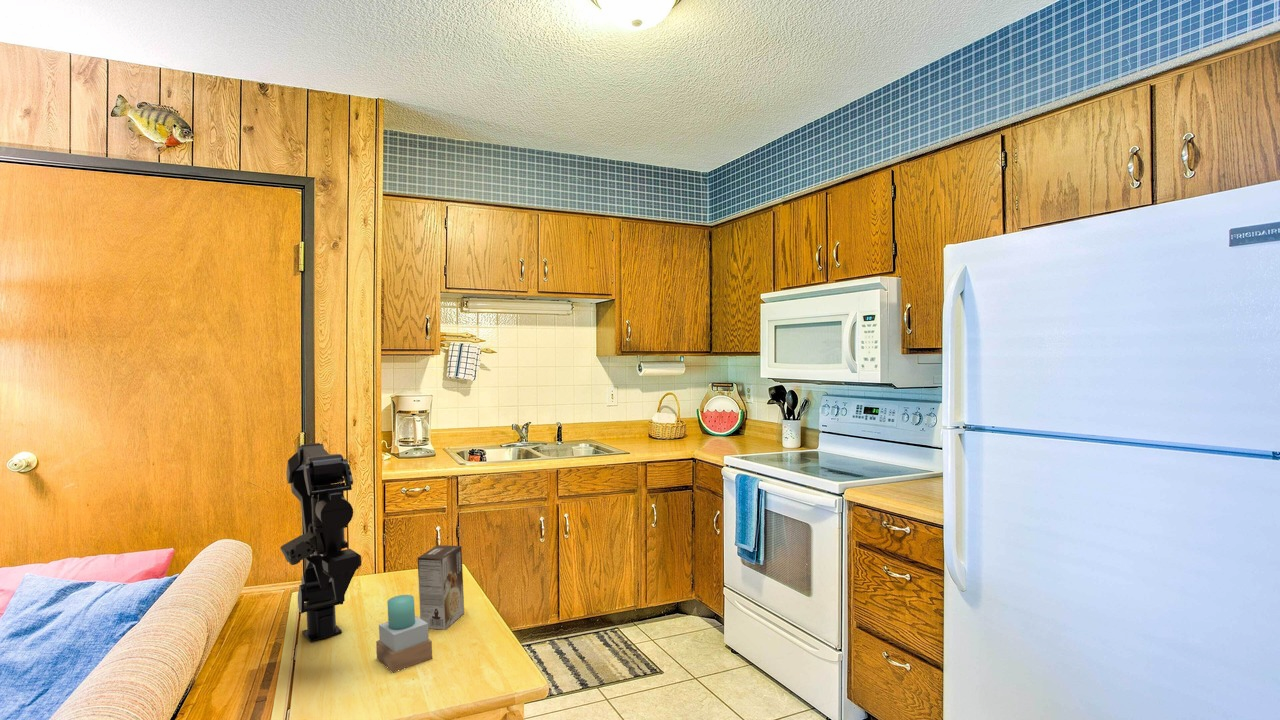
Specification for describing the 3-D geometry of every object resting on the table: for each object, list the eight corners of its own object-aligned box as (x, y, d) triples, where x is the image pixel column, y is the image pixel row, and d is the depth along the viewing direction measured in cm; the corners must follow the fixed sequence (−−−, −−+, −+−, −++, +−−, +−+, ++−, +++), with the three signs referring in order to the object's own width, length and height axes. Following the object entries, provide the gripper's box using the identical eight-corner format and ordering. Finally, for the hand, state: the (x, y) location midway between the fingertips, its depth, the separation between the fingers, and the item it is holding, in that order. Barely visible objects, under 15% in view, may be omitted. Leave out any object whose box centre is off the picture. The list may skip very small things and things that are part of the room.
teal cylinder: (384, 624, 135) (383, 600, 135) (408, 616, 139) (407, 592, 138) (395, 631, 132) (393, 606, 131) (419, 623, 135) (418, 599, 135)
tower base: (377, 660, 136) (376, 641, 136) (415, 647, 141) (414, 628, 141) (393, 674, 130) (392, 654, 130) (432, 660, 135) (431, 640, 135)
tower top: (379, 641, 135) (378, 624, 135) (412, 630, 140) (412, 613, 140) (394, 652, 130) (394, 634, 130) (428, 640, 135) (428, 623, 135)
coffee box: (439, 611, 159) (437, 544, 158) (465, 613, 157) (462, 545, 157) (419, 628, 150) (416, 557, 149) (446, 630, 148) (443, 558, 148)
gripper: (271, 517, 137) (274, 593, 138) (298, 536, 123) (302, 620, 124) (328, 507, 145) (331, 579, 145) (360, 523, 131) (364, 603, 131)
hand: (331, 594), depth 136 cm, fingers open, 9 cm apart
